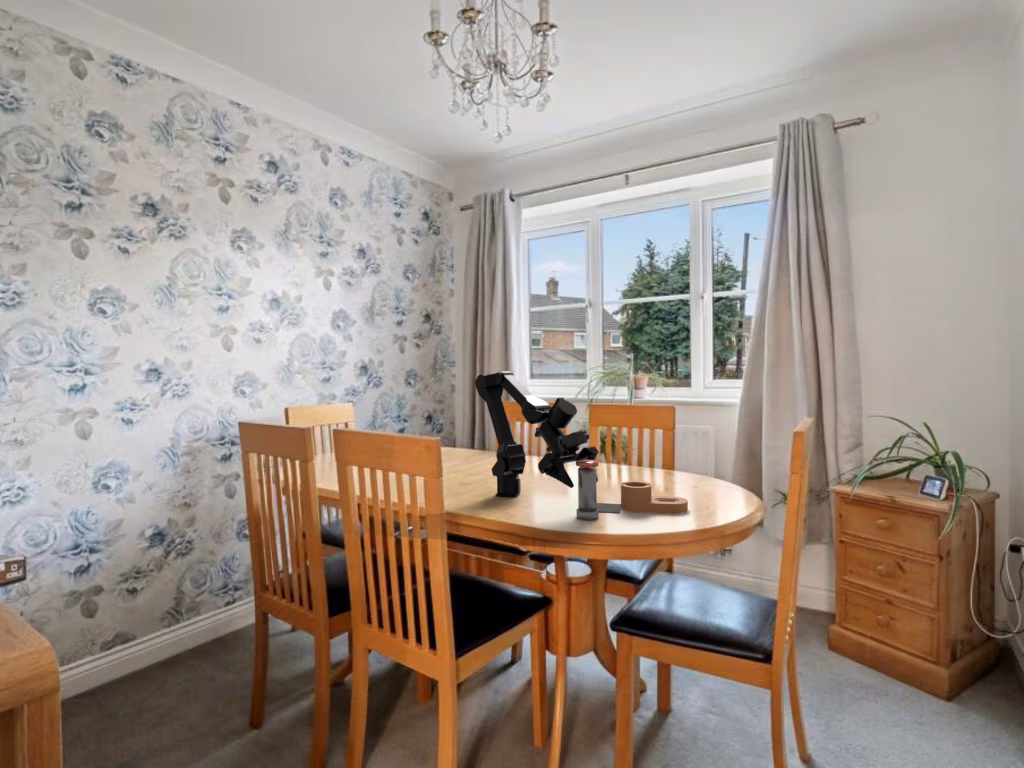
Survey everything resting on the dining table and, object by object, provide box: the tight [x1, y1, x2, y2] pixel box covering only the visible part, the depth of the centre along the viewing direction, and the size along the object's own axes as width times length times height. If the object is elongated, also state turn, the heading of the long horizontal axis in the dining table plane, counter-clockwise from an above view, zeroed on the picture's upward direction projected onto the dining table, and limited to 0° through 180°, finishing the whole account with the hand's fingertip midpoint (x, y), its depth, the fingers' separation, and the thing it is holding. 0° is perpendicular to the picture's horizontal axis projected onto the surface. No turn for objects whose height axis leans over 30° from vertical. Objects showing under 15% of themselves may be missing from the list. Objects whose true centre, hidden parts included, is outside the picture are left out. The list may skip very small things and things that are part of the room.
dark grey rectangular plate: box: [597, 502, 622, 514], centre depth 158 cm, size 7×9×1 cm
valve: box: [575, 459, 600, 522], centre depth 149 cm, size 6×6×15 cm
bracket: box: [620, 480, 689, 514], centre depth 157 cm, size 18×8×7 cm, turn 81°
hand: (585, 484), depth 149 cm, fingers open, 9 cm apart
